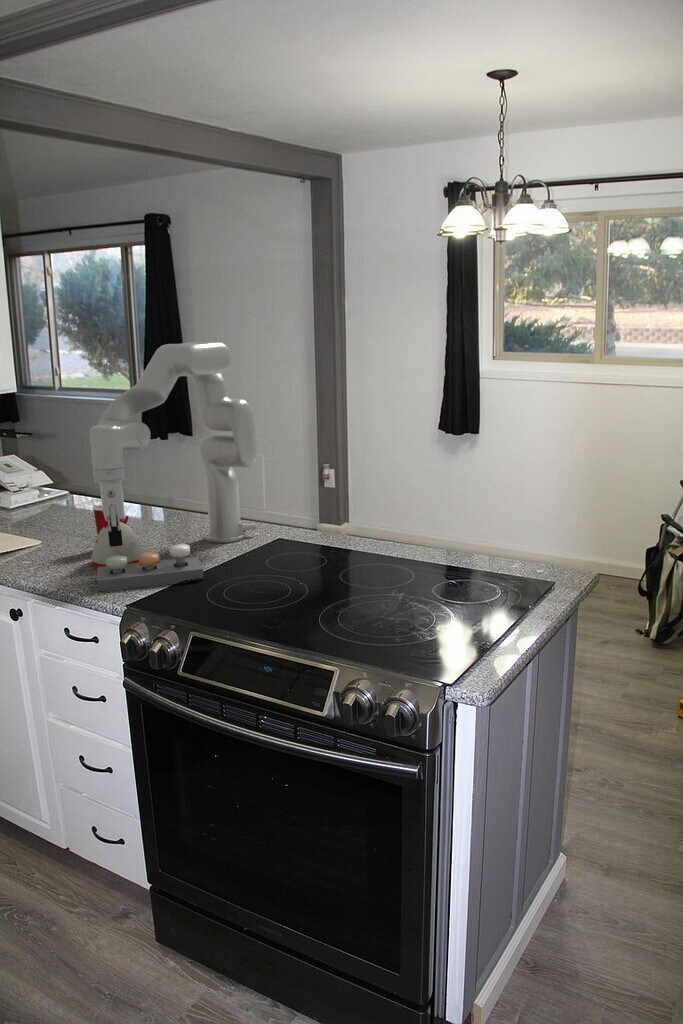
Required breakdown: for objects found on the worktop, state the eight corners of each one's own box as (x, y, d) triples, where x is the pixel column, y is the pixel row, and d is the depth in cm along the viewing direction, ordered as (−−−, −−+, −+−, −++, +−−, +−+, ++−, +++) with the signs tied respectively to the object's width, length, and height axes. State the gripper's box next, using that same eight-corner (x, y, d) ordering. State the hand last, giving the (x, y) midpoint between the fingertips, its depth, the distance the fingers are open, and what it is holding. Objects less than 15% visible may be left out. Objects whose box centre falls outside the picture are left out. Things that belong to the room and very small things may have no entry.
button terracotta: (159, 569, 223) (158, 551, 221) (161, 575, 218) (159, 556, 217) (139, 572, 221) (137, 553, 220) (140, 577, 216) (138, 559, 215)
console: (198, 567, 229) (197, 556, 228) (203, 580, 218) (202, 569, 217) (98, 578, 222) (97, 567, 221) (98, 591, 211) (97, 580, 210)
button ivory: (189, 561, 224) (188, 543, 223) (192, 567, 219) (190, 548, 218) (170, 563, 223) (168, 545, 222) (171, 569, 218) (170, 550, 217)
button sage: (128, 573, 220) (126, 554, 219) (129, 579, 216) (127, 560, 214) (107, 575, 219) (105, 556, 218) (107, 581, 214) (106, 562, 213)
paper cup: (116, 553, 245) (111, 506, 241) (91, 552, 246) (86, 505, 243) (128, 545, 252) (123, 500, 249) (104, 545, 254) (99, 499, 250)
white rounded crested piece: (85, 562, 237) (79, 510, 234) (131, 552, 245) (126, 502, 242) (104, 573, 226) (99, 518, 223) (152, 563, 234) (147, 510, 231)
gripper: (125, 478, 205) (132, 551, 209) (123, 468, 219) (130, 536, 223) (93, 481, 203) (101, 554, 208) (93, 470, 217) (100, 539, 222)
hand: (116, 545), depth 215 cm, fingers closed
